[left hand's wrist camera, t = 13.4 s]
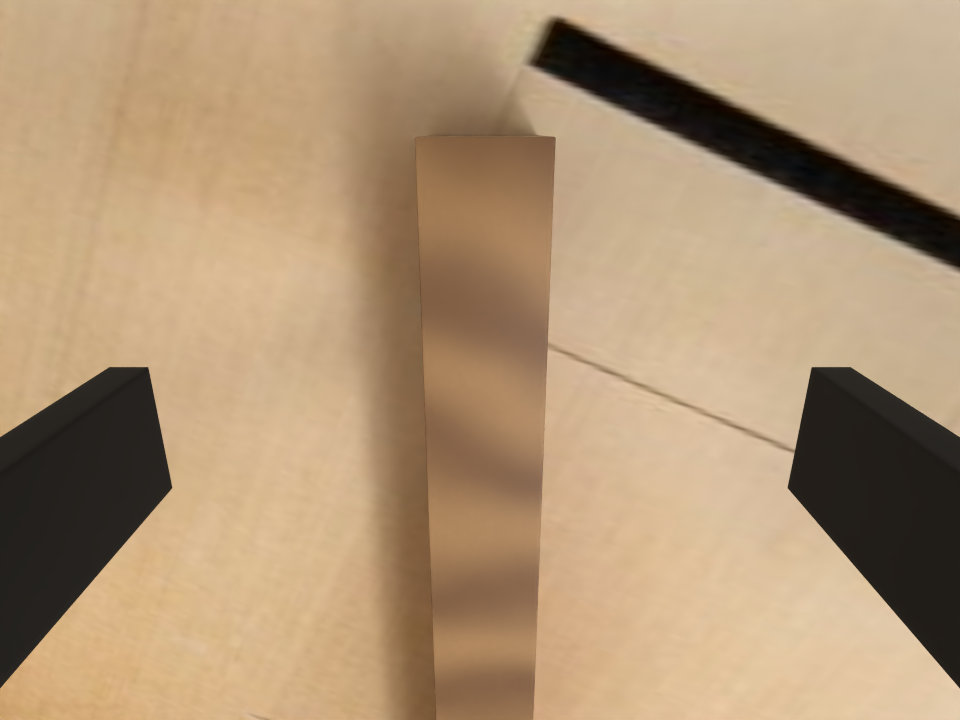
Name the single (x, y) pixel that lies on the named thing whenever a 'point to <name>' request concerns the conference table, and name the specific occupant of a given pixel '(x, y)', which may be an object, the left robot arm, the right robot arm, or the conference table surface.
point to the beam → (484, 410)
